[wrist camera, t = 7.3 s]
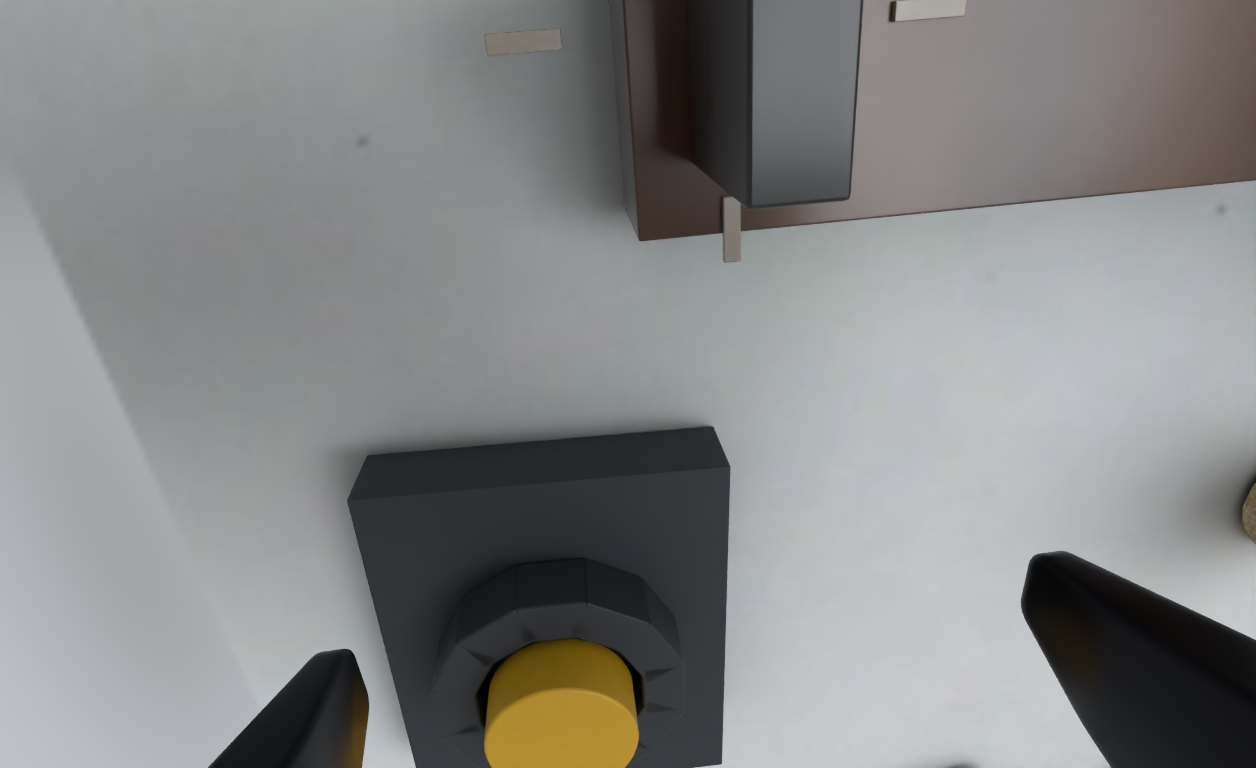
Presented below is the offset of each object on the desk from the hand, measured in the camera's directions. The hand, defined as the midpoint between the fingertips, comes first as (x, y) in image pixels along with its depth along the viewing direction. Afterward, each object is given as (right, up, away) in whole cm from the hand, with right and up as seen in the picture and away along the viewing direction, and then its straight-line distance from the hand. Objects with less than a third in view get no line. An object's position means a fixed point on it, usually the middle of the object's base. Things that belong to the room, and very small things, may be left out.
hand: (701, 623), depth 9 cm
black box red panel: (+1, +10, +4) cm, 11 cm away
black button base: (-3, -4, +14) cm, 15 cm away
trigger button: (-3, -5, +10) cm, 12 cm away
